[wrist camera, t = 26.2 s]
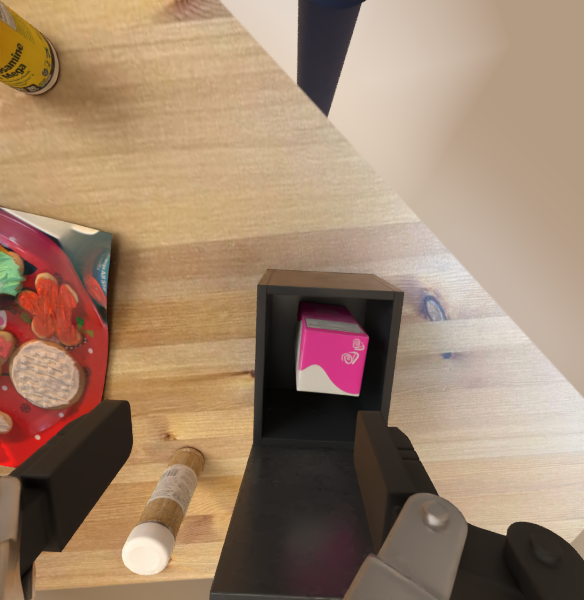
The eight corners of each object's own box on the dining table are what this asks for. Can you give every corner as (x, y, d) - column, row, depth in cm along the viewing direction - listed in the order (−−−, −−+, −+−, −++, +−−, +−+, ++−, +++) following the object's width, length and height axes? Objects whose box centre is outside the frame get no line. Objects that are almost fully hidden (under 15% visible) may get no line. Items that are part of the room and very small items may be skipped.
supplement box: (341, 351, 40) (359, 400, 28) (292, 345, 39) (292, 392, 28) (348, 305, 38) (370, 337, 27) (298, 299, 38) (300, 329, 27)
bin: (267, 268, 38) (257, 284, 28) (374, 274, 38) (404, 291, 28) (263, 390, 42) (252, 444, 31) (361, 394, 42) (384, 451, 31)
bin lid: (209, 592, 14) (201, 719, 14) (495, 605, 14) (492, 732, 14) (252, 443, 31) (249, 501, 30) (385, 450, 31) (383, 507, 30)
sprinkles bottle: (174, 475, 44) (124, 579, 31) (169, 446, 44) (115, 540, 30) (207, 473, 44) (171, 576, 31) (203, 444, 43) (163, 538, 30)
